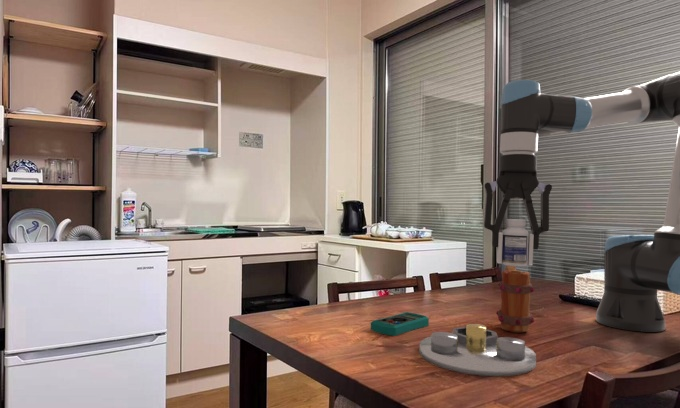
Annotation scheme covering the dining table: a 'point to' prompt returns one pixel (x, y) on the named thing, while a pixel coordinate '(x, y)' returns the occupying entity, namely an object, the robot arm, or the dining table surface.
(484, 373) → the carrier
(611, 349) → the dining table surface
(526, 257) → the pill bottle
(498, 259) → the robot arm
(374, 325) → the digital multimeter
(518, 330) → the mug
